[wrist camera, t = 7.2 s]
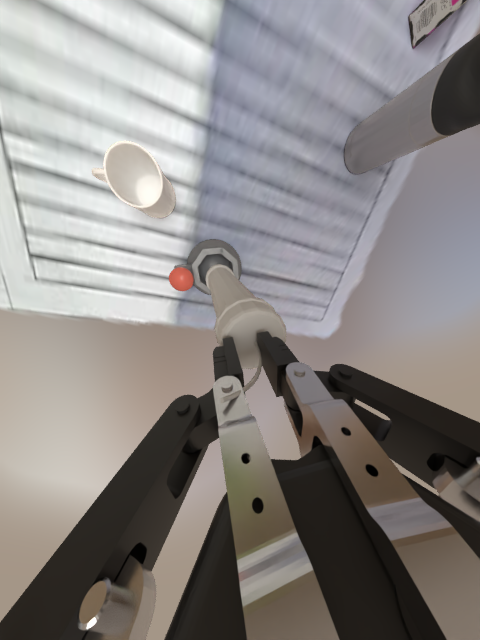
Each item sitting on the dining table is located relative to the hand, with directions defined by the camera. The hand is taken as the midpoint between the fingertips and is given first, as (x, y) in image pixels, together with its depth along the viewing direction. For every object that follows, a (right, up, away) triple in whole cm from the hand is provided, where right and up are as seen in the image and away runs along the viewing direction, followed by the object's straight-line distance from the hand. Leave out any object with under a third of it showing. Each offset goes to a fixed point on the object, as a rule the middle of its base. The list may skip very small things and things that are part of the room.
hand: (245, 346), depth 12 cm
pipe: (-5, +10, +22) cm, 25 cm away
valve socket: (-8, +15, +33) cm, 37 cm away
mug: (-20, +29, +24) cm, 43 cm away
